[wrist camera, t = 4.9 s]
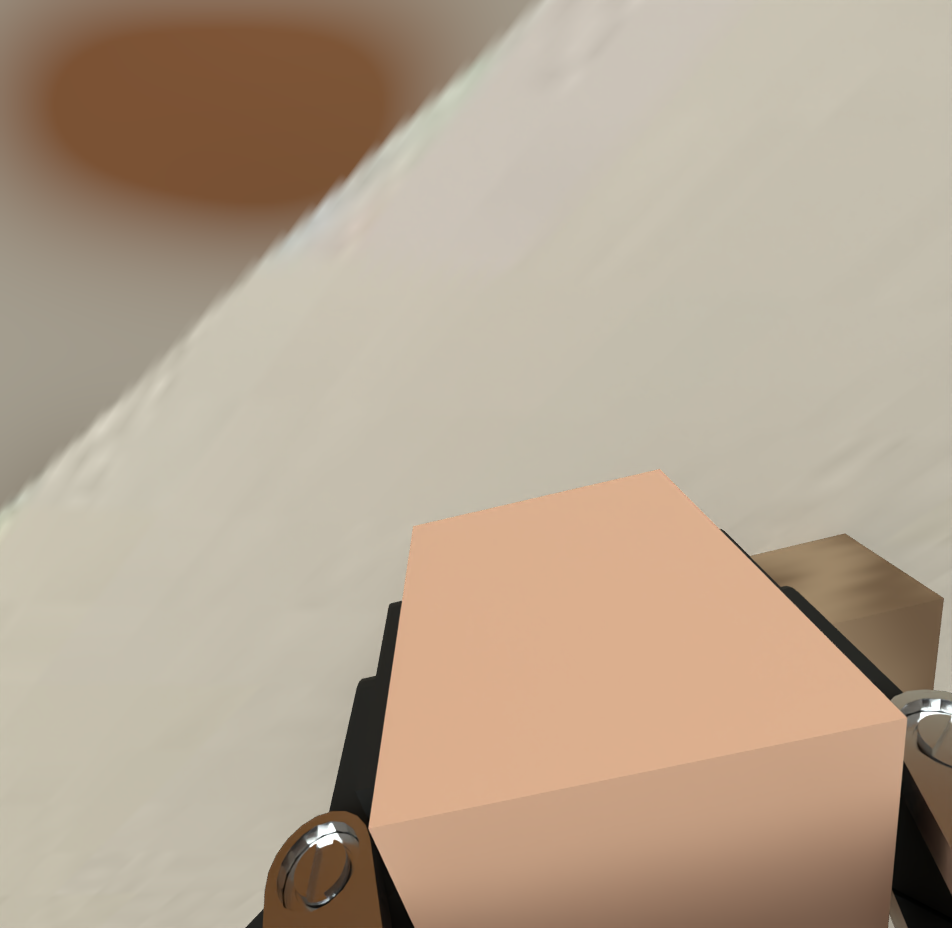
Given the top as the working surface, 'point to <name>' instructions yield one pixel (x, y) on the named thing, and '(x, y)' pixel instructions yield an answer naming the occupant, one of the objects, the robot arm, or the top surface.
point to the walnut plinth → (866, 604)
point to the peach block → (625, 730)
